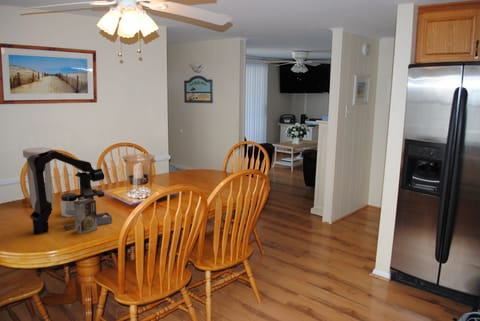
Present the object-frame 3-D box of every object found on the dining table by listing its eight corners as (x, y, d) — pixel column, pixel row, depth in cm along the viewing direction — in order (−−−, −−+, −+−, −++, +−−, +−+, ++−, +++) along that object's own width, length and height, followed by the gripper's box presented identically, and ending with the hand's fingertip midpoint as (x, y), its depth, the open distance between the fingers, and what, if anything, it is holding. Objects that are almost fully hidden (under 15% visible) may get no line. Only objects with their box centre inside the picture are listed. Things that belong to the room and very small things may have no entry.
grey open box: (97, 225, 207) (96, 217, 206) (93, 221, 213) (93, 213, 213) (111, 223, 212) (111, 215, 211) (107, 219, 218) (107, 211, 217)
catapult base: (66, 230, 199) (65, 220, 198) (64, 226, 204) (63, 216, 203) (96, 225, 208) (95, 215, 207) (93, 221, 213) (93, 212, 212)
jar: (66, 212, 227) (64, 192, 225) (80, 212, 228) (78, 192, 225) (59, 217, 219) (58, 197, 216) (74, 217, 219) (72, 197, 217)
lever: (66, 214, 199) (67, 211, 199) (62, 208, 209) (63, 204, 209) (93, 218, 207) (94, 214, 207) (88, 211, 217) (89, 208, 217)
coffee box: (91, 226, 206) (89, 197, 203) (97, 229, 202) (96, 200, 199) (74, 231, 199) (73, 201, 196) (81, 234, 195) (79, 203, 192)
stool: (57, 205, 239) (53, 150, 232) (29, 209, 230) (24, 152, 223) (53, 199, 251) (49, 146, 244) (26, 203, 242) (21, 148, 236)
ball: (108, 222, 213) (102, 221, 211) (106, 220, 215) (100, 219, 213) (109, 216, 213) (103, 215, 211) (108, 214, 215) (102, 214, 213)
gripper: (70, 188, 200) (72, 217, 203) (106, 184, 211) (107, 211, 214) (65, 184, 209) (67, 211, 212) (101, 180, 220) (102, 206, 223)
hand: (86, 210), depth 215 cm, fingers closed
